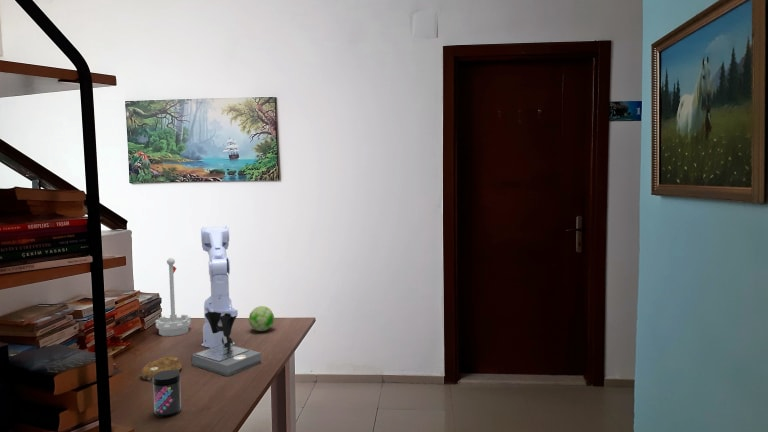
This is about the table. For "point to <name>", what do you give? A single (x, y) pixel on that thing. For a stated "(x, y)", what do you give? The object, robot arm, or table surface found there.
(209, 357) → the weighing pan
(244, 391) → the table surface
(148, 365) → the decorative rock
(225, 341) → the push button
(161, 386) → the supplement container
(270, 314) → the decorative ball
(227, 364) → the scale housing
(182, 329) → the flag stand
